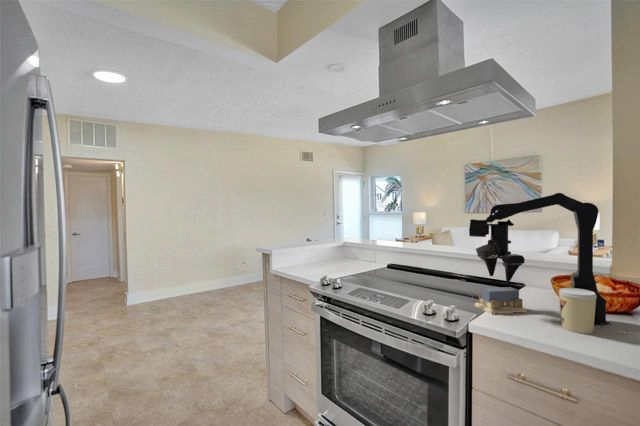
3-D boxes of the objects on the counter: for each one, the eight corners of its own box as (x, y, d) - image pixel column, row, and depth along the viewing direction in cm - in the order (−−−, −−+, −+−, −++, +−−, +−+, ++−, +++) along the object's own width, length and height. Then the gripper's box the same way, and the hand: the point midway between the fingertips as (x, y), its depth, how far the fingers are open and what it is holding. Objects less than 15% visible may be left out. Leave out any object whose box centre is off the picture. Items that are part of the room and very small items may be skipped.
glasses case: (519, 300, 120) (518, 290, 120) (489, 302, 119) (489, 291, 119) (510, 297, 125) (510, 287, 125) (481, 298, 123) (481, 288, 123)
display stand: (527, 312, 118) (527, 299, 118) (491, 314, 116) (491, 302, 116) (507, 304, 128) (507, 292, 128) (475, 306, 126) (474, 294, 126)
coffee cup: (561, 321, 108) (561, 286, 108) (598, 328, 101) (598, 290, 101) (556, 329, 101) (555, 291, 101) (594, 337, 95) (594, 297, 94)
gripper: (465, 235, 129) (465, 274, 130) (496, 240, 111) (496, 285, 111) (490, 235, 131) (490, 273, 131) (525, 239, 112) (525, 284, 113)
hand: (499, 278), depth 122 cm, fingers open, 9 cm apart
